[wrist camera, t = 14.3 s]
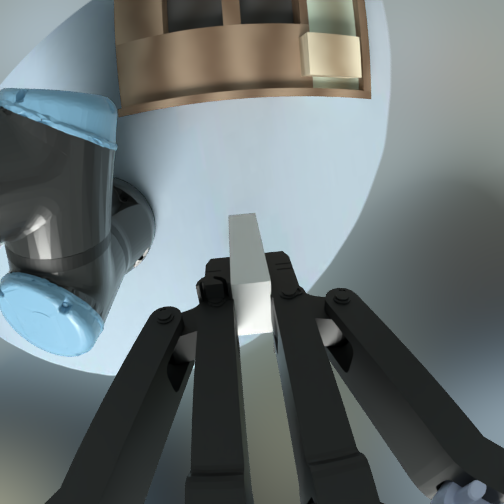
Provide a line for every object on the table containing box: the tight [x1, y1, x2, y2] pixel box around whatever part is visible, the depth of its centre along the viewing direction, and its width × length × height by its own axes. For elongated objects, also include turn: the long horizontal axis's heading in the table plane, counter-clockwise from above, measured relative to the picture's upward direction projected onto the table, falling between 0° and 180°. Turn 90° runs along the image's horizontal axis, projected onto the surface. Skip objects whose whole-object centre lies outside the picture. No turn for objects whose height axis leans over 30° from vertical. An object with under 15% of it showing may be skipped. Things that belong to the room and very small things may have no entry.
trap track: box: [114, 0, 371, 117], centre depth 28 cm, size 30×18×6 cm, turn 94°
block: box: [299, 32, 362, 78], centre depth 27 cm, size 6×5×4 cm
